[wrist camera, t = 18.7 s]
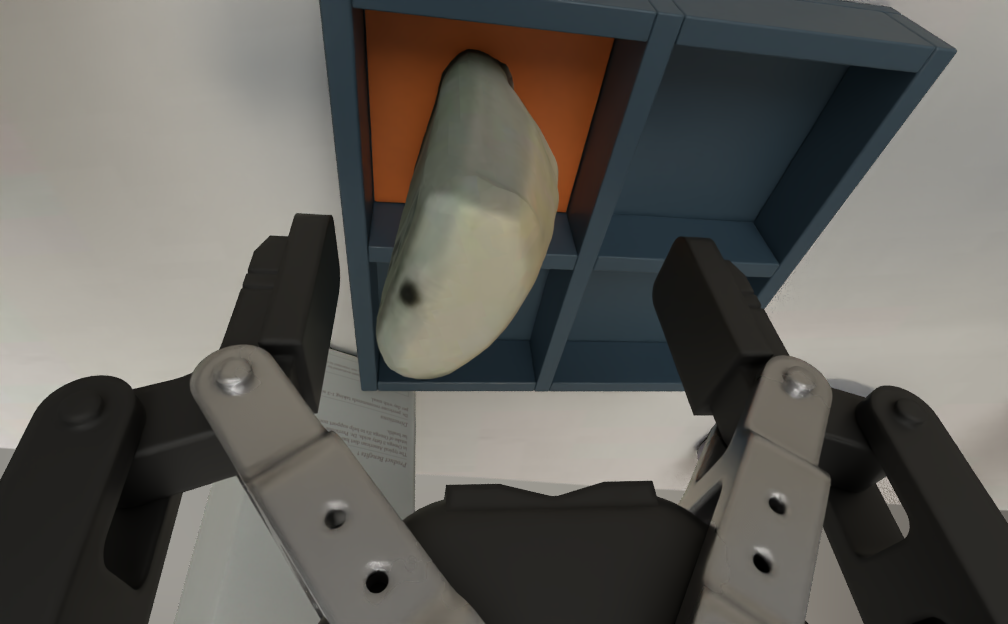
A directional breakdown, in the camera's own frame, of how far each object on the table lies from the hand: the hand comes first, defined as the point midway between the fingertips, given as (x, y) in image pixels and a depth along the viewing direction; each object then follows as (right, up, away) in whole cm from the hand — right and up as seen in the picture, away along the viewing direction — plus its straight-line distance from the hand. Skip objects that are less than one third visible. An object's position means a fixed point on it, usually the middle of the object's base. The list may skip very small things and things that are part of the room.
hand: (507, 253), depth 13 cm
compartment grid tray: (+2, +3, +8) cm, 9 cm away
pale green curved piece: (-1, +5, +4) cm, 6 cm away
